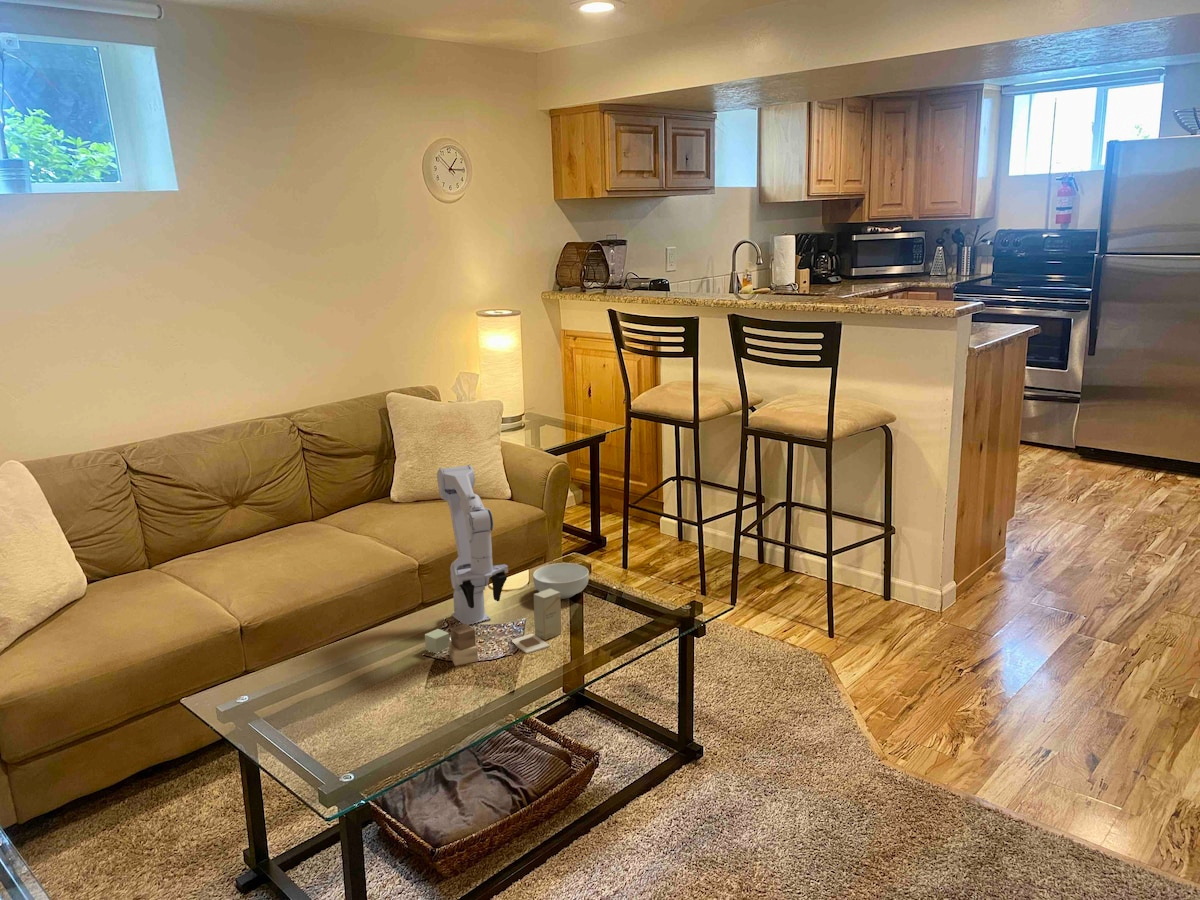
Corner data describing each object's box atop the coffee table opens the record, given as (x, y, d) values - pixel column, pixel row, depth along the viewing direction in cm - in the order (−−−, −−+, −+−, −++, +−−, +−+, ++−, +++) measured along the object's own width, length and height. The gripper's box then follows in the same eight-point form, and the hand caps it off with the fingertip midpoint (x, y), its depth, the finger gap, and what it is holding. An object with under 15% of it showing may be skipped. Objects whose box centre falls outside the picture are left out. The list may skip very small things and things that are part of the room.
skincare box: (544, 640, 237) (543, 598, 235) (534, 635, 241) (532, 594, 238) (562, 633, 242) (561, 591, 239) (551, 628, 245) (550, 587, 242)
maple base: (449, 656, 230) (448, 642, 229) (471, 652, 232) (470, 638, 231) (455, 666, 225) (454, 652, 224) (478, 661, 227) (477, 647, 226)
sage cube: (425, 650, 234) (424, 634, 233) (439, 644, 237) (438, 628, 236) (436, 655, 231) (435, 639, 230) (450, 648, 234) (449, 633, 233)
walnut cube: (451, 644, 228) (450, 628, 227) (466, 639, 231) (465, 623, 229) (460, 650, 224) (459, 634, 223) (475, 645, 227) (474, 629, 226)
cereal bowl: (567, 579, 280) (566, 558, 279) (600, 594, 268) (600, 572, 266) (522, 593, 270) (521, 571, 268) (555, 610, 257) (554, 587, 256)
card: (510, 641, 237) (509, 639, 237) (532, 634, 241) (532, 632, 241) (526, 653, 230) (526, 651, 230) (549, 646, 234) (549, 644, 234)
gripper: (462, 565, 226) (466, 614, 229) (512, 553, 234) (515, 601, 237) (450, 557, 232) (454, 606, 235) (500, 546, 240) (502, 593, 243)
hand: (483, 603), depth 237 cm, fingers open, 7 cm apart
